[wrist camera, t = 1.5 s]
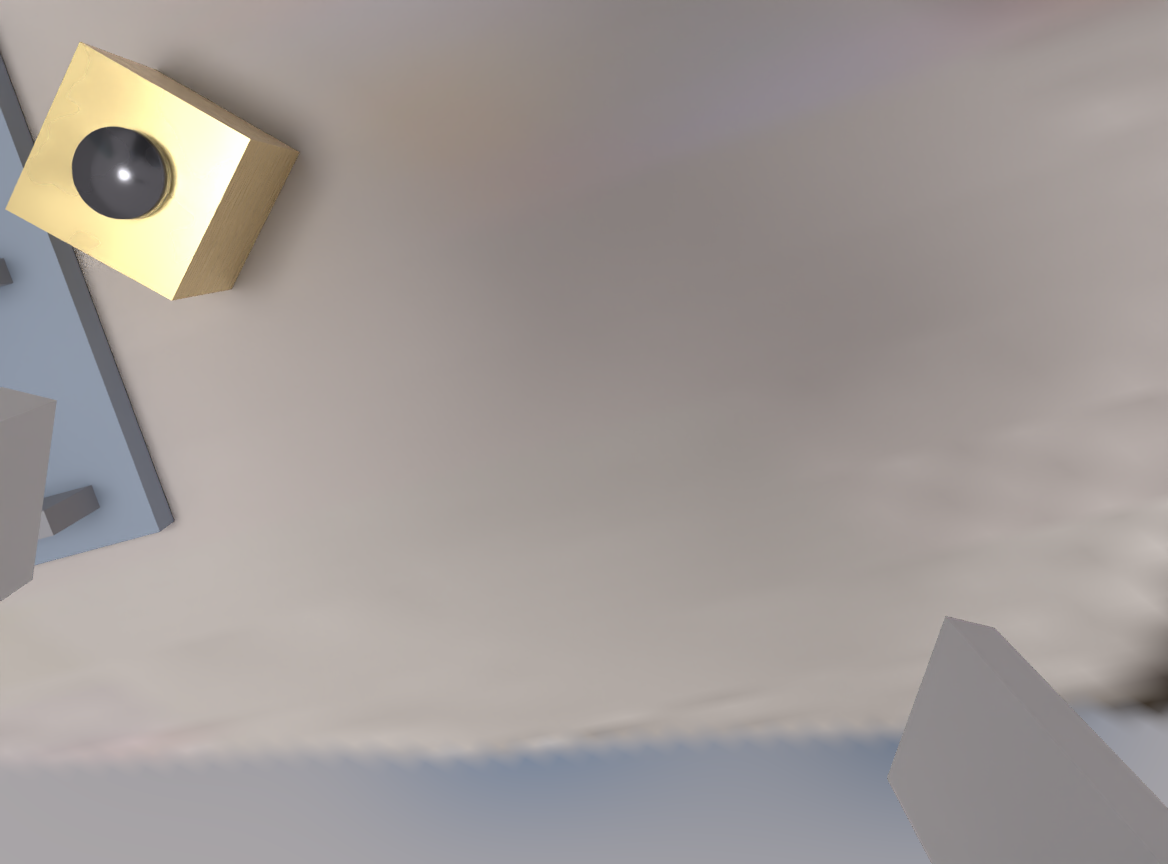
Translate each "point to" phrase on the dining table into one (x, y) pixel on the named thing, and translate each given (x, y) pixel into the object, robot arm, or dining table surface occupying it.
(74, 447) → the shaft bench
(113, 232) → the block
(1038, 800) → the robot arm
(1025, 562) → the dining table surface
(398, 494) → the dining table surface
